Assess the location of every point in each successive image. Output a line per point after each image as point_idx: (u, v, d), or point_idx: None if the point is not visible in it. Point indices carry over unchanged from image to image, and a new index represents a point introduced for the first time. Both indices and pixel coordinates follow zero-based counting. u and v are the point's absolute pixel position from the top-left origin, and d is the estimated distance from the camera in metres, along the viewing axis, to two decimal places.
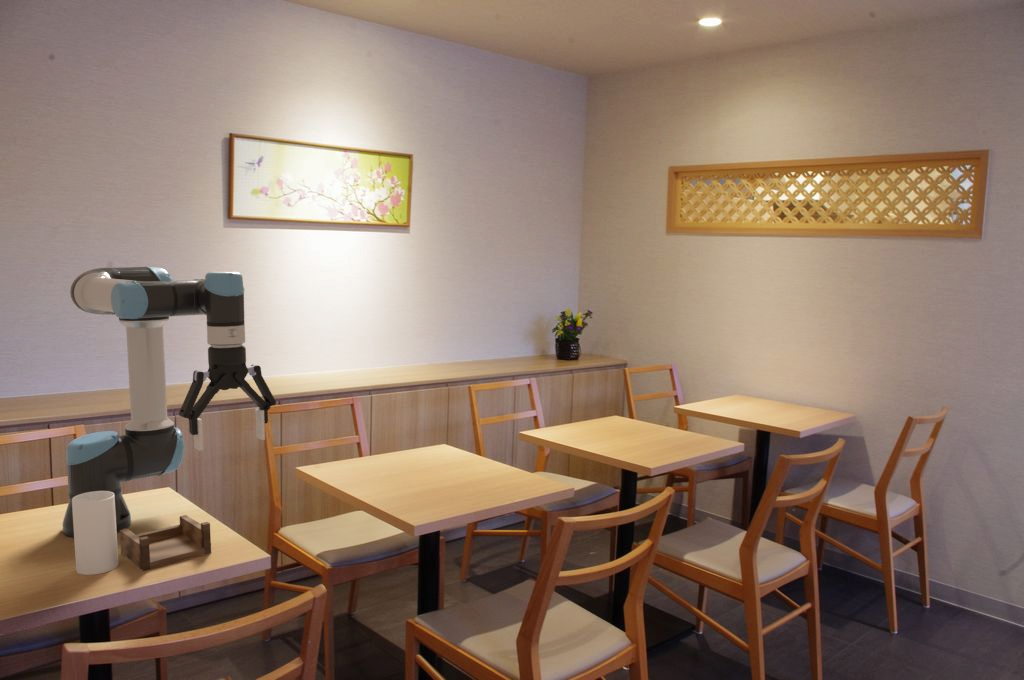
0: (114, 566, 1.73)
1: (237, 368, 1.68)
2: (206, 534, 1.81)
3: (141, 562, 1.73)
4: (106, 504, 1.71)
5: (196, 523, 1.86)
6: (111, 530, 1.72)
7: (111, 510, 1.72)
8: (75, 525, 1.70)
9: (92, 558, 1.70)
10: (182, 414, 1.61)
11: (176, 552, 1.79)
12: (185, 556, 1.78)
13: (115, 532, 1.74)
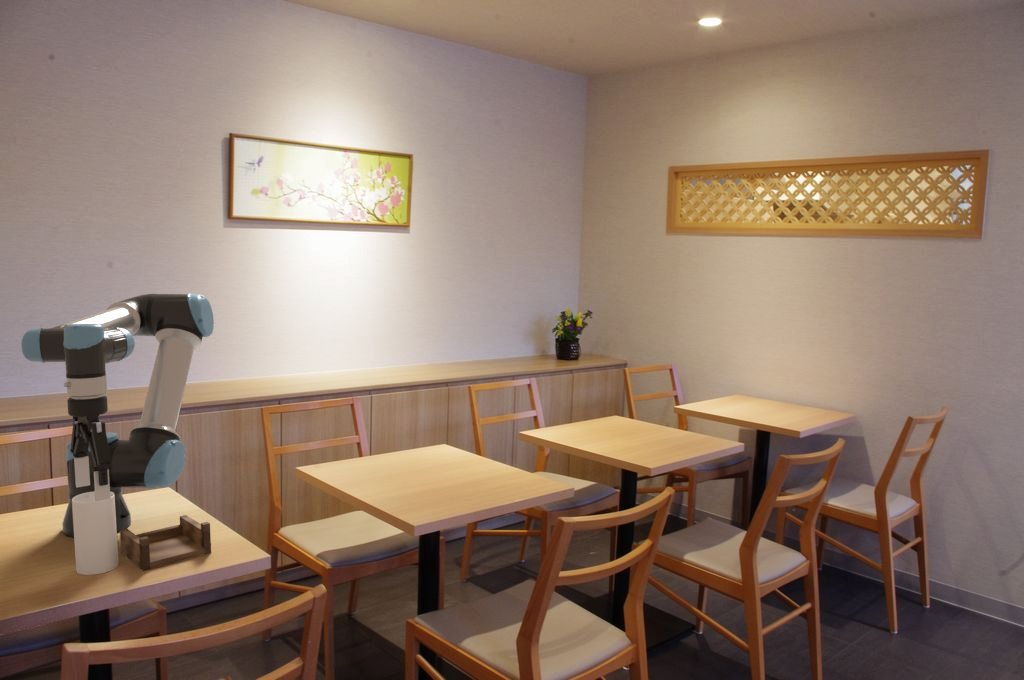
0: (114, 566, 1.73)
1: (85, 420, 1.68)
2: (206, 534, 1.81)
3: (141, 562, 1.73)
4: (106, 504, 1.71)
5: (196, 523, 1.86)
6: (111, 530, 1.72)
7: (111, 510, 1.72)
8: (75, 525, 1.70)
9: (92, 558, 1.70)
10: None
11: (176, 552, 1.79)
12: (185, 556, 1.78)
13: (115, 532, 1.74)
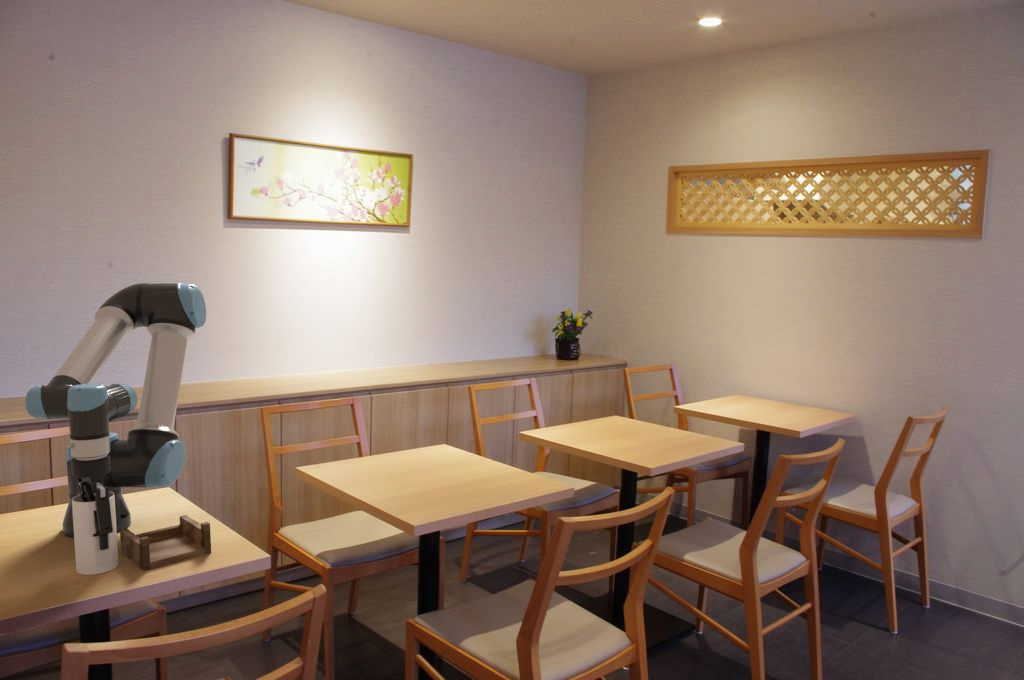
0: (114, 566, 1.73)
1: (89, 479, 1.70)
2: (206, 534, 1.81)
3: (141, 562, 1.73)
4: None
5: (196, 523, 1.86)
6: None
7: (111, 510, 1.72)
8: (75, 525, 1.70)
9: (92, 558, 1.70)
10: None
11: (176, 552, 1.79)
12: (185, 556, 1.78)
13: (115, 532, 1.74)
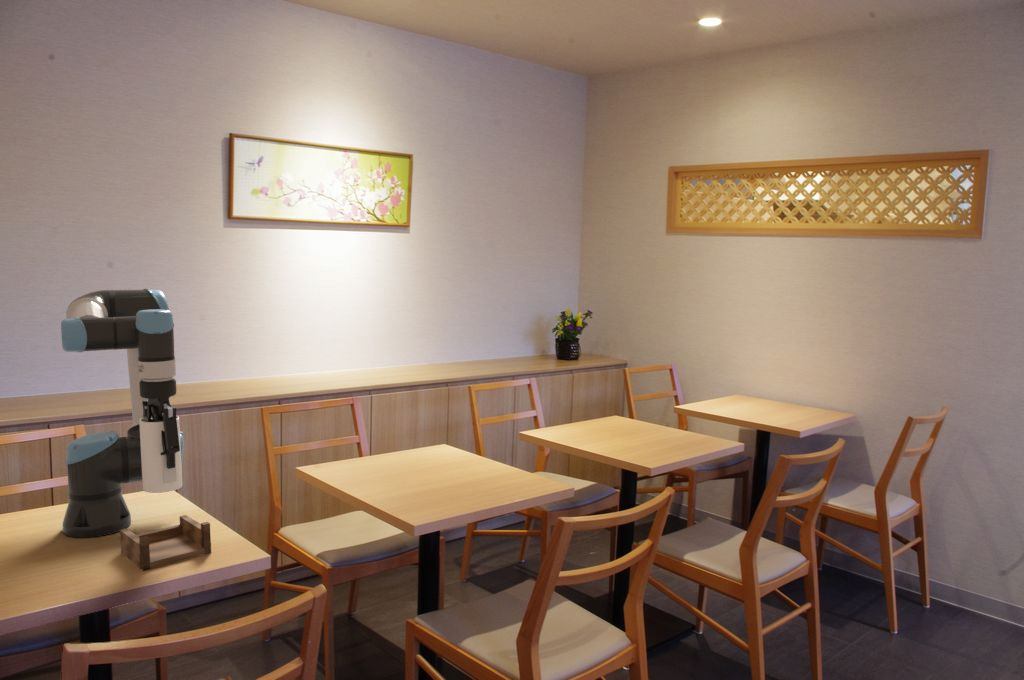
0: (179, 486, 1.80)
1: (156, 401, 1.76)
2: (206, 534, 1.81)
3: (141, 562, 1.73)
4: None
5: (196, 523, 1.86)
6: None
7: None
8: (143, 445, 1.76)
9: (159, 477, 1.76)
10: None
11: (176, 552, 1.79)
12: (185, 556, 1.78)
13: (180, 453, 1.80)
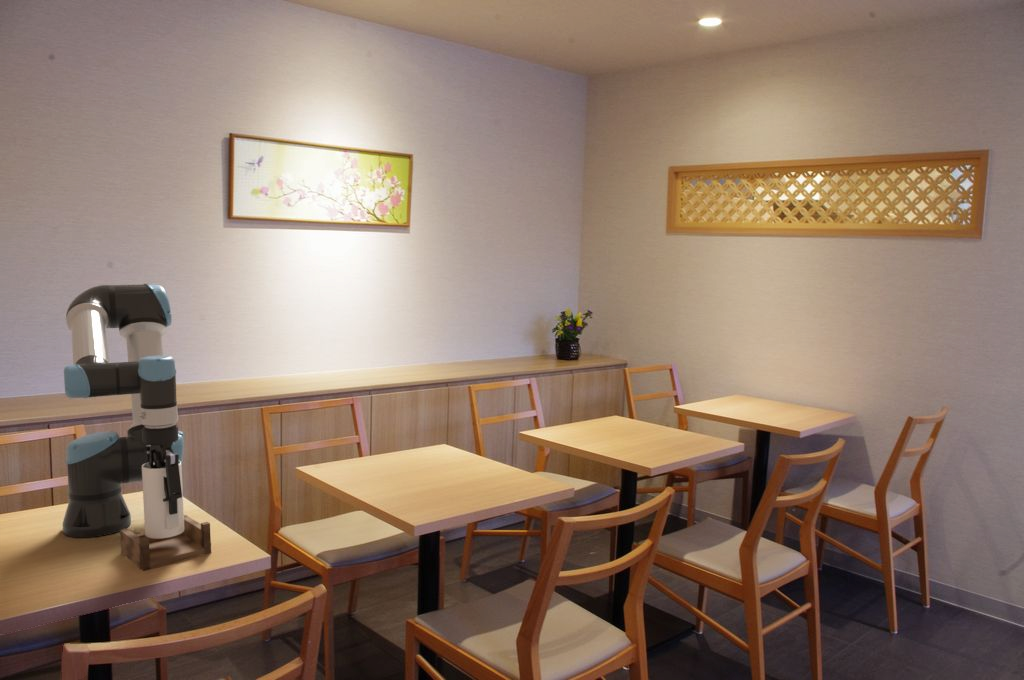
0: (181, 531, 1.81)
1: (159, 447, 1.77)
2: (206, 534, 1.81)
3: (141, 562, 1.73)
4: None
5: (196, 523, 1.86)
6: None
7: None
8: (145, 491, 1.77)
9: (161, 522, 1.77)
10: None
11: (176, 552, 1.79)
12: (185, 556, 1.78)
13: (182, 498, 1.81)
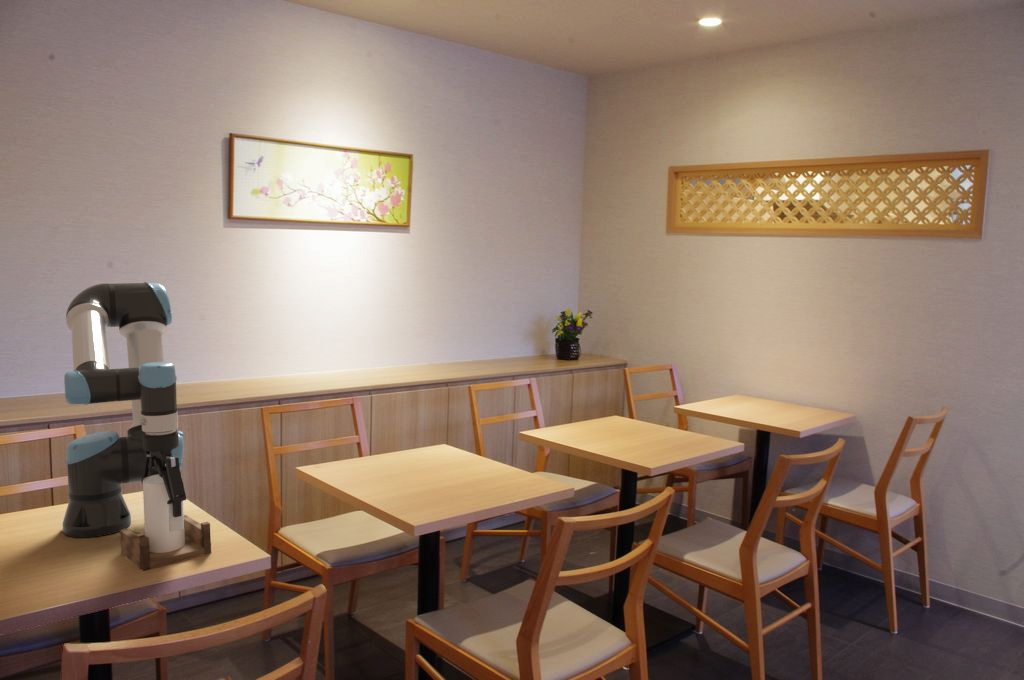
0: (181, 545, 1.82)
1: (159, 455, 1.78)
2: (206, 534, 1.81)
3: (141, 562, 1.73)
4: None
5: (196, 523, 1.86)
6: None
7: None
8: (146, 505, 1.78)
9: (162, 537, 1.78)
10: None
11: (176, 552, 1.79)
12: (185, 556, 1.78)
13: (182, 513, 1.82)
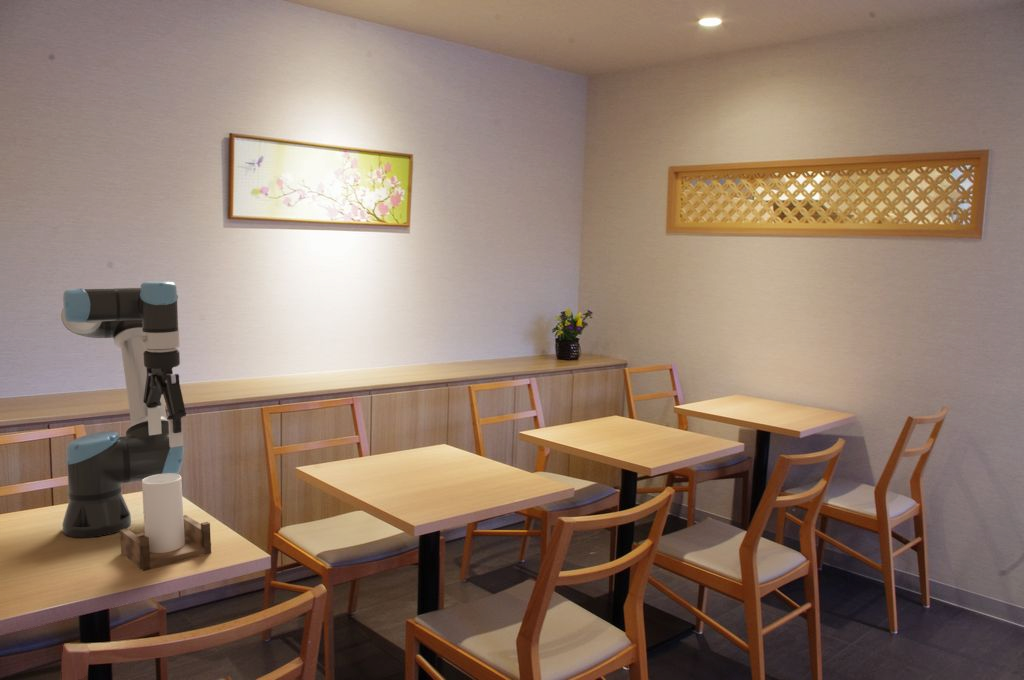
0: (181, 545, 1.82)
1: (160, 372, 1.80)
2: (206, 534, 1.81)
3: (141, 562, 1.73)
4: (175, 485, 1.79)
5: (196, 523, 1.86)
6: (179, 510, 1.80)
7: (179, 491, 1.80)
8: (145, 506, 1.78)
9: (162, 537, 1.78)
10: None
11: (176, 552, 1.79)
12: (185, 556, 1.78)
13: (182, 512, 1.82)
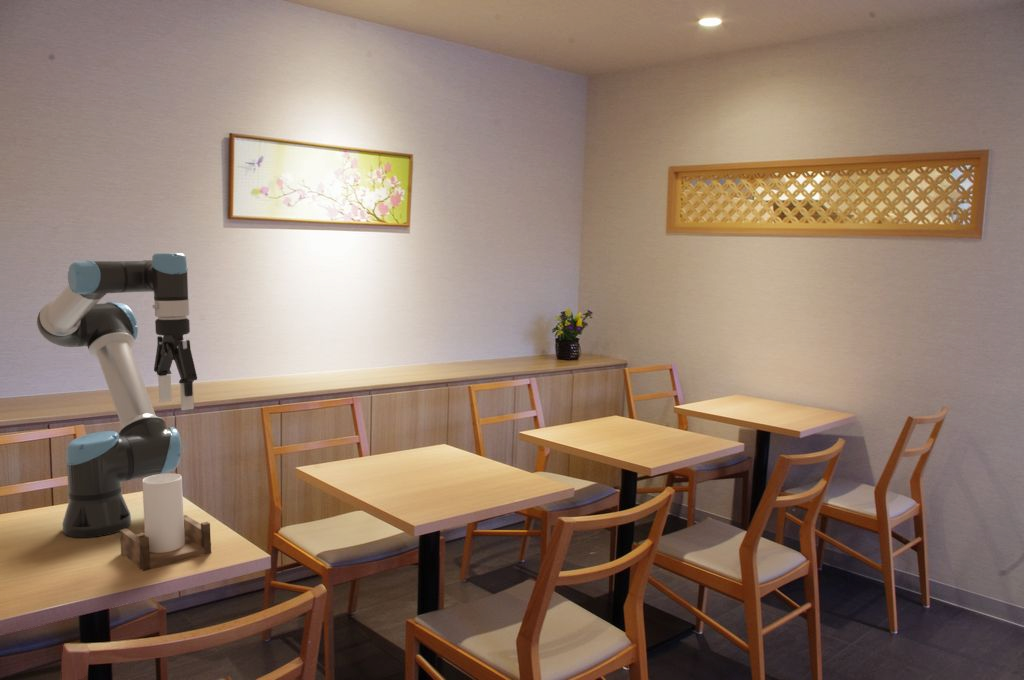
0: (181, 545, 1.82)
1: (171, 339, 1.88)
2: (206, 534, 1.81)
3: (141, 562, 1.73)
4: (175, 485, 1.79)
5: (196, 523, 1.86)
6: (179, 510, 1.81)
7: (179, 491, 1.80)
8: (146, 505, 1.78)
9: (162, 537, 1.78)
10: None
11: (176, 552, 1.79)
12: (185, 556, 1.78)
13: (182, 512, 1.82)
